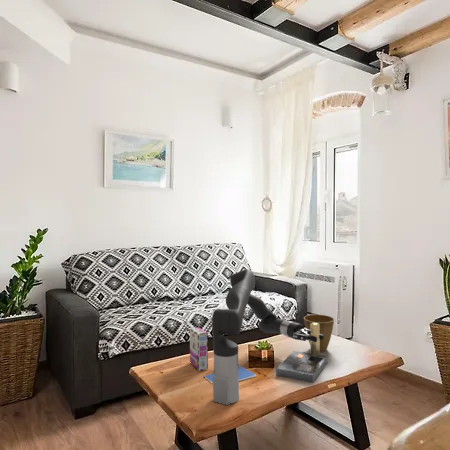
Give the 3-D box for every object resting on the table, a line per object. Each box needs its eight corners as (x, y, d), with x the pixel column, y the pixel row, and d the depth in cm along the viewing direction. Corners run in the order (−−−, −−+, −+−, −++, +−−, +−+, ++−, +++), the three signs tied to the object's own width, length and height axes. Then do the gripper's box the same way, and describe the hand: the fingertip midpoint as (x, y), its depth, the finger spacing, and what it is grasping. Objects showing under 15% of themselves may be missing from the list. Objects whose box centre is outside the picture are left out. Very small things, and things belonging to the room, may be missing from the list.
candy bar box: (208, 369, 170) (208, 332, 170) (198, 371, 168) (197, 334, 167) (199, 361, 180) (199, 326, 180) (189, 362, 178) (189, 327, 178)
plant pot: (298, 346, 198) (298, 316, 198) (322, 343, 204) (322, 313, 203) (315, 356, 184) (314, 323, 184) (340, 352, 190) (340, 320, 189)
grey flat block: (313, 382, 155) (313, 374, 155) (276, 375, 163) (276, 367, 162) (327, 362, 176) (327, 355, 176) (293, 357, 184) (293, 350, 184)
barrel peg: (318, 356, 170) (318, 325, 170) (309, 355, 172) (309, 324, 172) (320, 353, 174) (320, 323, 173) (311, 352, 175) (311, 322, 175)
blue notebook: (218, 389, 151) (218, 386, 151) (202, 378, 162) (202, 375, 162) (257, 377, 162) (257, 374, 162) (240, 368, 172) (240, 365, 172)
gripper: (281, 324, 180) (309, 333, 166) (301, 319, 188) (330, 327, 174) (281, 340, 180) (309, 350, 166) (301, 334, 188) (330, 343, 175)
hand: (319, 338), depth 170 cm, fingers closed on barrel peg, 4 cm apart
